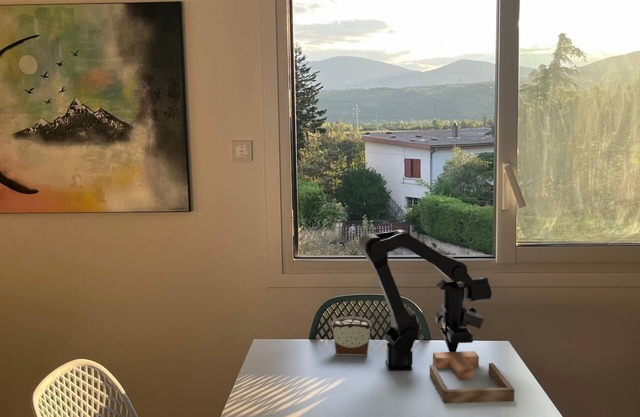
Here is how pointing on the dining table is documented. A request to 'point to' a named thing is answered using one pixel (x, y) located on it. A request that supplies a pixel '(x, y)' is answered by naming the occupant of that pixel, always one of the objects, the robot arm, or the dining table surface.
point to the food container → (351, 335)
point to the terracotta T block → (457, 362)
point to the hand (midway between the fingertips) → (452, 355)
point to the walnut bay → (475, 395)
